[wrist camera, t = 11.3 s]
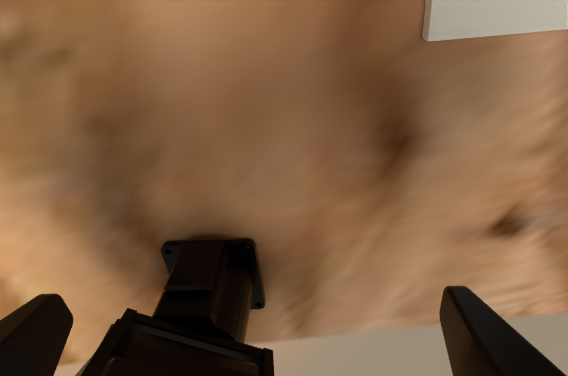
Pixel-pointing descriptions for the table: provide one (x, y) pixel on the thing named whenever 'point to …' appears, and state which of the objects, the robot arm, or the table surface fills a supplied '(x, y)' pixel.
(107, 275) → the table surface
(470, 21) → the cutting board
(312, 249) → the table surface
